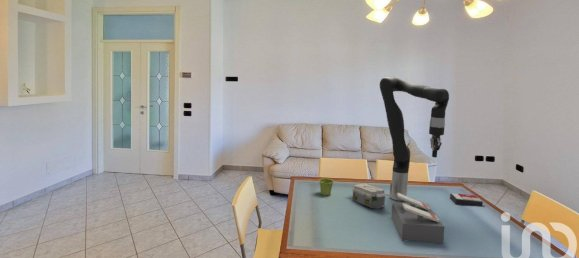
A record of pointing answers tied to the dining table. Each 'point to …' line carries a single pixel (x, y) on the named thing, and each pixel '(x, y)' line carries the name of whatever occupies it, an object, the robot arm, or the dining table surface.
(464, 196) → the calculator
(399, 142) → the robot arm
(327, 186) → the plant pot
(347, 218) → the dining table surface
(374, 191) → the grey boxy piece
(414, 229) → the rocker switch panel
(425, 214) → the rocker
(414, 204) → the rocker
